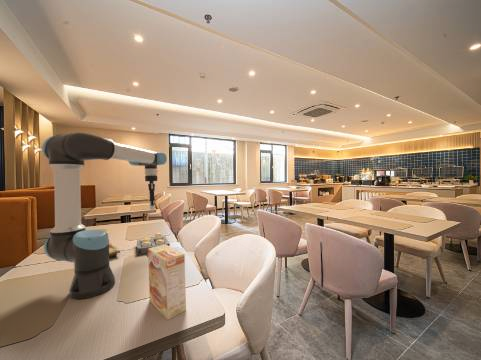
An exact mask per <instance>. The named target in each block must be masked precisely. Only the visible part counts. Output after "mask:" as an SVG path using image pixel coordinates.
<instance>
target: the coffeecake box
mask: <svg viewBox="0 0 481 360" xmlns="http://www.w3.org/2000/svg"><path fill="white" fill-rule="evenodd" d="M147 258H148V259H147V260H148V281H149V283H148V284H149V285H148V286H149V293H148V294H149V302H150V303H151V304H152V305H153V306H154V308H156V310H158V312H159V313H160V314H161V315H162V316H163V318H165V319H166V320H167V321H169V320H170V319H172V318H174V317H176V316H177V315H179V314H182V313H184V312H185V311H187V296H186V295H187V294H186V270H185V269H186V261H185V253H183V252H182V251H179V250H178V249H176V248H174V247H172V246H168V245H166V244H164V245H160V246H156V247H152V248H149V249H148V255H147Z"/></svg>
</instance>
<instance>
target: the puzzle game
mask: <svg viewBox="0 0 481 360" xmlns="http://www.w3.org/2000/svg"><path fill="white" fill-rule="evenodd" d="M118 254H121V250H120V249H119V248H118V247H116V246H115V245H114V244H113V243H112V242H109V258H111V257H115V256H117V255H118Z"/></svg>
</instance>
